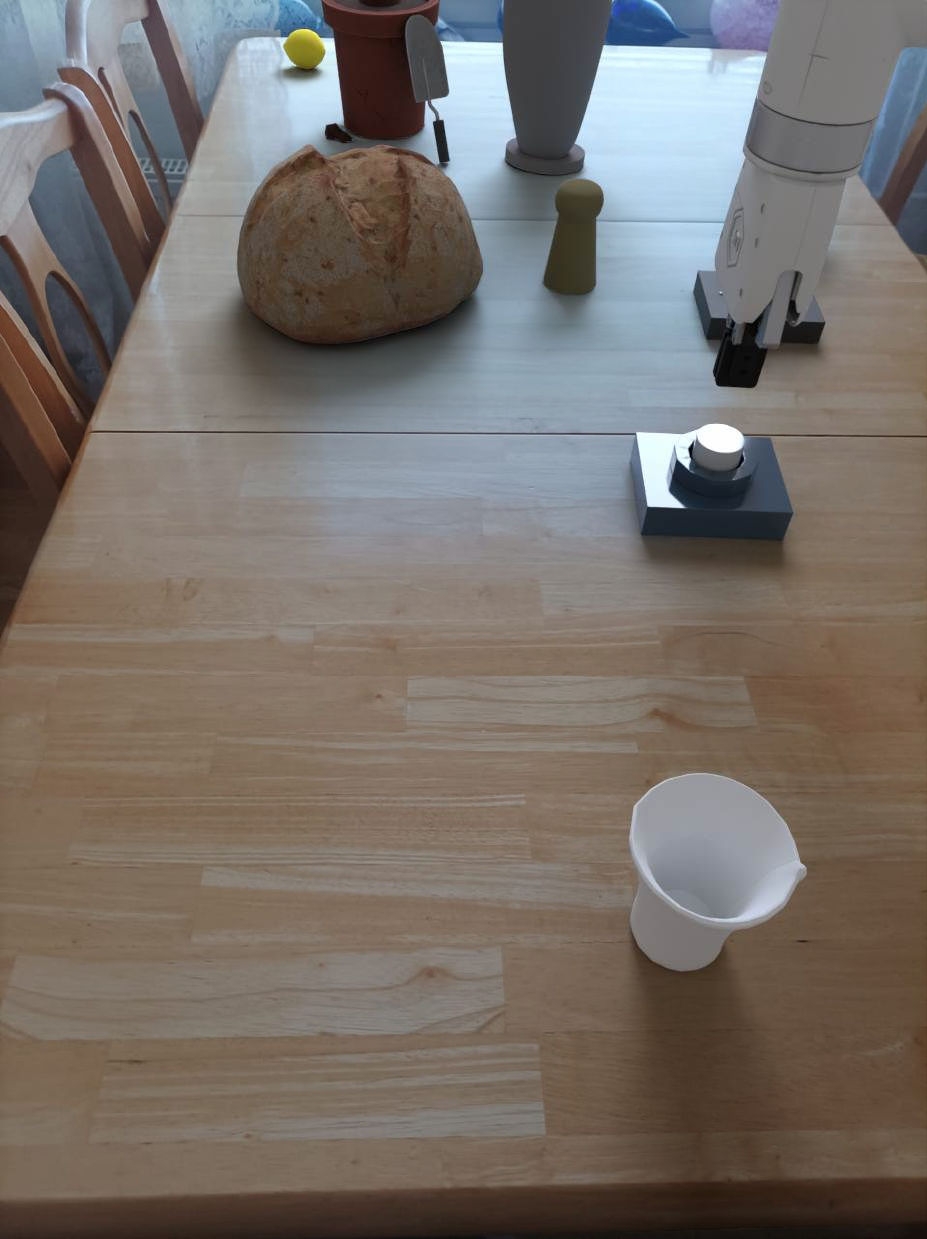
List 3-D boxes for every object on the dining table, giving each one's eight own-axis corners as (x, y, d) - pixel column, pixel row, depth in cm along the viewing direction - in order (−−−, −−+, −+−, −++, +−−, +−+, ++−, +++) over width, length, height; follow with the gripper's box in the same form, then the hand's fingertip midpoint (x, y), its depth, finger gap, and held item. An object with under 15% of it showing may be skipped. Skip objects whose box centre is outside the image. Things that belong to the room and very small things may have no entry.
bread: (445, 232, 114) (447, 98, 102) (512, 332, 99) (523, 190, 88) (226, 260, 107) (203, 122, 96) (264, 372, 93) (241, 224, 82)
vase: (588, 144, 132) (628, -178, 106) (595, 184, 124) (640, -155, 98) (495, 141, 132) (511, -182, 106) (495, 181, 124) (513, -160, 97)
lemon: (332, 65, 150) (330, 26, 146) (320, 76, 147) (317, 37, 143) (292, 59, 151) (288, 21, 147) (278, 70, 148) (274, 32, 144)
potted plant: (450, 105, 141) (454, -102, 122) (449, 166, 126) (453, -57, 108) (332, 101, 140) (317, -107, 121) (318, 162, 126) (299, -63, 107)
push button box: (760, 465, 85) (776, 420, 82) (782, 541, 79) (800, 496, 75) (629, 460, 85) (639, 415, 82) (640, 535, 79) (651, 489, 75)
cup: (743, 1024, 52) (796, 953, 45) (584, 962, 54) (609, 884, 47) (769, 887, 58) (820, 803, 50) (623, 835, 60) (652, 747, 53)
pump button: (735, 443, 80) (741, 424, 78) (743, 473, 77) (749, 454, 76) (688, 441, 80) (693, 422, 78) (694, 471, 77) (700, 452, 76)
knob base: (798, 295, 106) (805, 273, 104) (818, 343, 99) (826, 321, 97) (693, 290, 106) (698, 268, 104) (705, 339, 99) (711, 316, 97)
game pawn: (533, 274, 107) (542, 177, 99) (577, 263, 109) (590, 167, 101) (560, 299, 104) (572, 200, 96) (606, 287, 106) (621, 190, 98)
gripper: (730, 87, 64) (673, 327, 78) (772, 181, 54) (699, 437, 68) (838, 93, 64) (763, 332, 78) (900, 188, 54) (801, 443, 68)
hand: (733, 381), depth 73 cm, fingers closed
